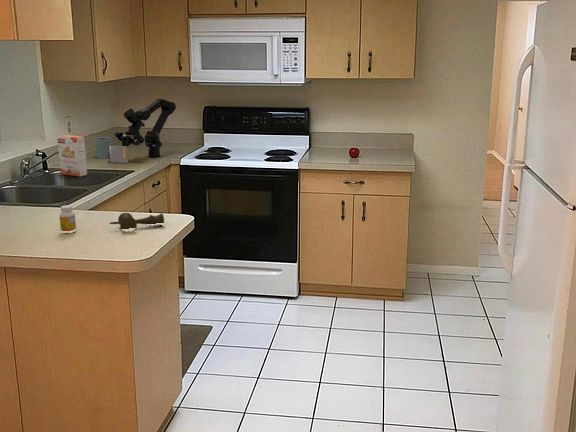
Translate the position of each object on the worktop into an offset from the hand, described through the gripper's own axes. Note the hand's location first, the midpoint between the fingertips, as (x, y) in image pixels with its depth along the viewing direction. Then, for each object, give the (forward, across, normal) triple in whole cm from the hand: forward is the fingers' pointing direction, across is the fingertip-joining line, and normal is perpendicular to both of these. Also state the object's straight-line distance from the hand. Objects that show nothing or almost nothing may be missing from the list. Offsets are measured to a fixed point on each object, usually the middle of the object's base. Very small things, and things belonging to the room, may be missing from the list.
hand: (123, 148), depth 371 cm
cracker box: (+35, -3, +23) cm, 42 cm away
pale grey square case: (+7, +2, -4) cm, 8 cm away
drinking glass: (0, +25, -12) cm, 28 cm away
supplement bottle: (+90, -86, +80) cm, 148 cm away
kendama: (+79, -104, +68) cm, 147 cm away
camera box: (+5, +7, -6) cm, 11 cm away
